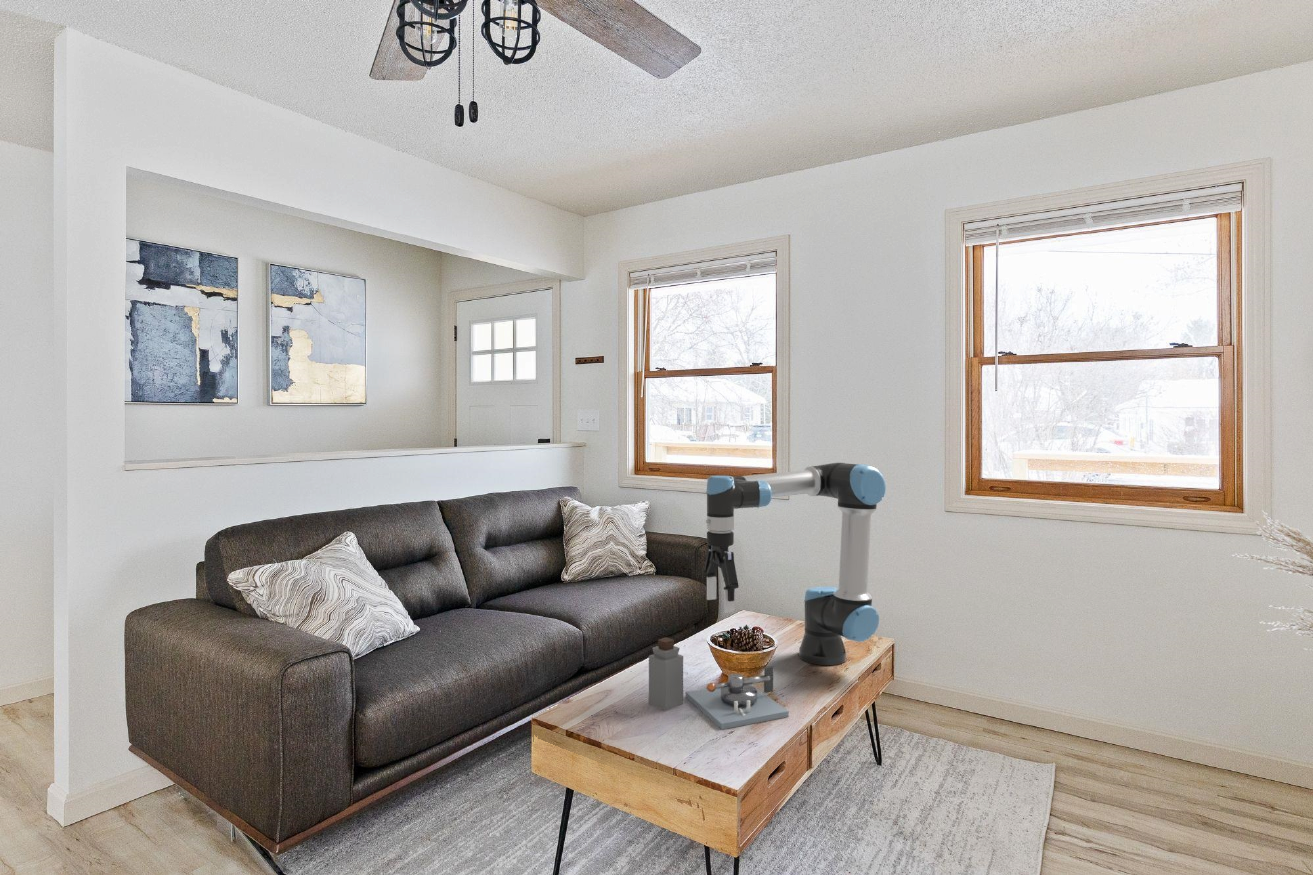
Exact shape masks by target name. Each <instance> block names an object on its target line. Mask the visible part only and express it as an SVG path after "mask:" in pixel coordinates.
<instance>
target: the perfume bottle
mask: <svg viewBox="0 0 1313 875" xmlns="http://www.w3.org/2000/svg"><path fill="white" fill-rule="evenodd" d="M651 649H652V652H653V654H650V655H648V704H649V705H651V706H652V707H653V706H654V707H656V708H657V709H660V710H663V711H665V712H667V711H670V710H672V709H674V708H676V707H679V706H681V705H683V704H684V655H682V654H679V652H680V647H679V646H676V645H675V639H674V638H670V637H667V636H666V637H662V638H659V639H657V645H656V646H654V647H652V648H651Z"/></svg>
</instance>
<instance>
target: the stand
mask: <svg viewBox="0 0 1313 875" xmlns="http://www.w3.org/2000/svg"><path fill="white" fill-rule="evenodd" d="M749 685H751V686H753V687H755V688H756V689H757V701H756V702H755V703H753V704H751V705H750V700H747V705H746V706H738V701H734V705H731V704H727V703H725V702H723V701H722V700H721V688H719V689H715V691H713V692H709V691H708V690H707V687H706V688H701V689H696V690H695V689H694V690H689V691H685V698H686V699H687V700H689V701H690V703H692V704H693V705H694V706H695V707H696V708H697V709H698V710H699V711H701V712H702V713H703V714H704V715H705V716H706V717H707V718H708V719H710V721H712V722H713V723H714V724H715V725H716V726H717V727H718V728H720V729H721V730H726V729H732V728H737V727H742V726H748V725H752V724H759V723H762V722H767V721H772V720H778V719H779V720H780V719H784V718H789V717H790V714H789V712H790V711H789V710H788V709H787V708H785V707H784V706H783V705H781V704H779V703H778V702H777V701H776V700H774V699H773V698H771V697H770V696H768V695H767V693H765V692H764V691H761V690H760V689H759V688H757V687H756V686H754V684H749Z"/></svg>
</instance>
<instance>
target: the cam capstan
mask: <svg viewBox="0 0 1313 875" xmlns="http://www.w3.org/2000/svg"><path fill="white" fill-rule="evenodd" d="M763 671H764V672H763V673H764V674H762V675H756V676H749V677H745V678H744V676H743V675H742V674H740V673H730V674H729V675H727V676H728V677H727V678H728V680H727V682H722V683H713V682H709V683H708V684H707V685H706V688H707V690H708V691H709V692H713V691H715V689H719V688H721V700H722V701H723V702H725V703H727V704H731V705H734V701H738V706H746V705H747V700H750V705H751V704H753V703H755V702H756V701H757V689H758V688H757V687H756V686H754V685H755V684H760V683H763V693H764V694H767V693H773V692H774V666H772V665H770V666H764V667H763ZM749 684H752V685H753V686H754V687H753V686H751V685H749ZM755 687H756V688H757V689H756V688H755Z"/></svg>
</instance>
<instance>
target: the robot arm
mask: <svg viewBox="0 0 1313 875" xmlns="http://www.w3.org/2000/svg"><path fill="white" fill-rule="evenodd" d="M706 481H707V482H706V519H705V523H706V528H707V530H708V531H706V544H707V552H706V555H705V556H706V557H705V561H704V567H703V573H704V574H705V576H706V600H707V601H711V600H713V601H714V600H717V576H718V574H717V571H718V570H719V569H718V568H720V570H721V574H722V577H723V583H724V585H725V586H724V587H723V591H724V592H723V594H724V595H723V596H724V601H723V602H724V605H723V606H724V607H723V608H724V609H723V610H724V613H725V614H727V613H728V614H729V613H735V610H736V609H735V607H736V606H735V605H736V604H735V603H736V600H735V599H736V598H735V596H736V595H735V594H736V593H735V592H736V589H738V588H740V587H739V580H738V576H737V570H736V563H735V554H734V552H733V551H729V547H731V546H733V545H734V543H735V538H734V534H735V533H734V531H733V530H734V529H735V515H734V514H735V510H736V509H750V508H752V509H753V508H757V509H759V508H762V507H767V506H768V505H769V504H770V503H771V501H772V498H778V497H787V496H789V497H790V496H797V495H798V496H800V495H808V496H810V497H817V496H818V497H827V498H833V499H837V508H838V509H839V510H840V511H841V532H840V535H841V536H840V554H839V571H838V572H839V573H838V577H839V578H838V587H835V586H816V587H811V588H808V589H807V590H806V591H805V593H804V601H803V602H804V634H803V637H802V639H801V643H800V647H799V649H798V656H799V658H800V659H801V660H803V661H804V662H806V663H810V664H813V665H819V666H836V665H840V664H841V665H842V664H843V663H845V662H846V661H847V650H846V648H845V644H844V641H843V638H845V639H847V640H849V641H853V642H857V643H862V642H865V641H867V640H869V639H871V637H873V635H874V634H876V631H877V630H878V627H879V624H880V616H879V615H880V614H879V613H878V611H877V610H876V608H875V607H873V606H872V605H873V604H872V602H873V597H872V595H871V594H870V593H869V592H868V584H869V583H868V582H869V563H870V562H869V561H870V540H871V522H872V520H871V519H872V514H873V513H874V512H876V511H877V504H879V503H880V502H881V501H882V500H883V498H884V496H885V494H886V490H887V489H886V487H887V486H886V480H885V478H884V475H883V474H882V473H881V472H880V471H879V470H878V469H877V468H876V467H874V466H871V465H866V464H863V463H861V464H859V463H856V464H855V463H845V462H833V463H824V464H818V465H811V466H807V467H805V468H804V469H802V470H791V471H783V472H773V473H772V472H771V473H762V474H761V473H760V474H752V475H751V474H750V475H741V476H732V475H711V476H709V477H708V478H707V480H706Z"/></svg>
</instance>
